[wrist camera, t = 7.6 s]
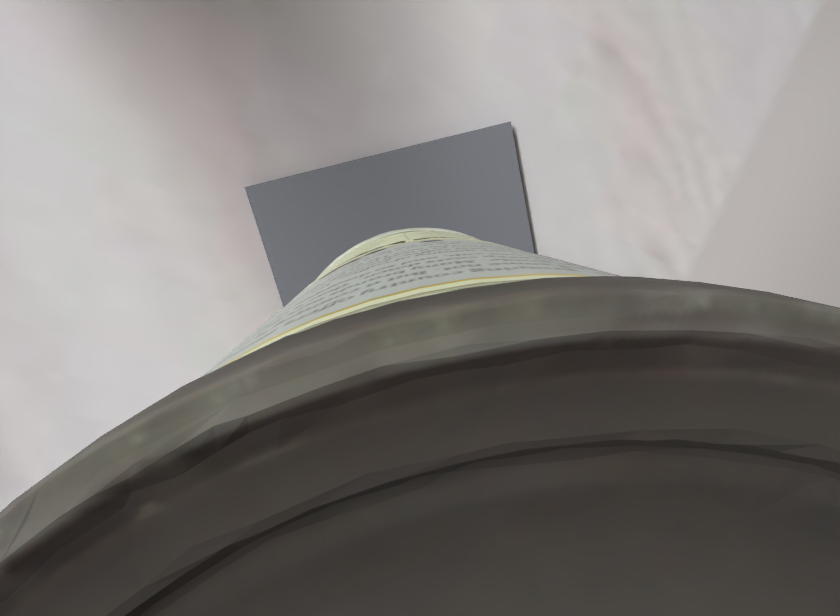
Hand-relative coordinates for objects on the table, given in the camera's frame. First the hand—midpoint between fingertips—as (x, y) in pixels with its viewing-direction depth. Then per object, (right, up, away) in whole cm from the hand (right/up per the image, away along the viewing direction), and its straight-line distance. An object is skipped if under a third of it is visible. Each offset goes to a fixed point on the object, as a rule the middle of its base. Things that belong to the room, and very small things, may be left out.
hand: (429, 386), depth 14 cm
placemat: (-1, +3, +14) cm, 14 cm away
